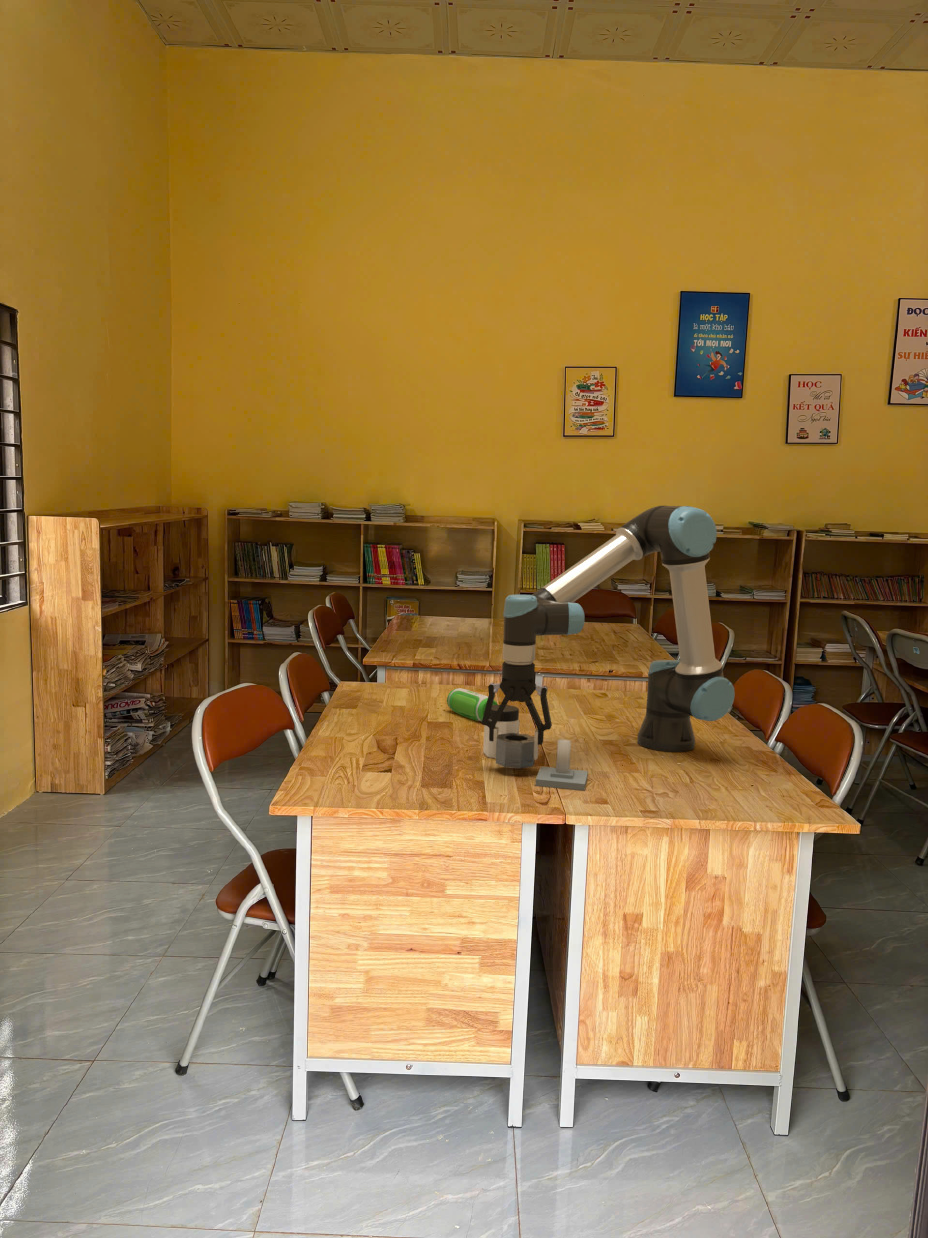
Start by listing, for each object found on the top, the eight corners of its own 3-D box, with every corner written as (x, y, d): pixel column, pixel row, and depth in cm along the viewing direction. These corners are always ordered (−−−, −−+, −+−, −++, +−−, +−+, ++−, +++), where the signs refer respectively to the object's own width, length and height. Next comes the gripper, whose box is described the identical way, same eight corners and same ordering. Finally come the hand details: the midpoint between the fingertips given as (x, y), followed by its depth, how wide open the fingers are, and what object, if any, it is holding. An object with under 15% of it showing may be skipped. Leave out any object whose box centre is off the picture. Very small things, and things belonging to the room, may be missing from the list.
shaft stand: (587, 777, 229) (590, 737, 228) (584, 790, 218) (587, 749, 217) (540, 772, 231) (542, 733, 230) (535, 785, 220) (537, 744, 219)
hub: (536, 759, 234) (537, 735, 233) (531, 769, 226) (532, 744, 225) (499, 756, 236) (500, 732, 235) (493, 766, 227) (494, 741, 227)
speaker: (500, 723, 281) (501, 697, 280) (479, 725, 277) (480, 699, 276) (464, 710, 295) (466, 685, 294) (444, 712, 291) (445, 687, 290)
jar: (478, 756, 243) (480, 709, 241) (487, 749, 250) (489, 703, 249) (513, 761, 240) (516, 713, 239) (521, 753, 248) (524, 706, 246)
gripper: (566, 661, 229) (563, 755, 232) (475, 656, 233) (473, 748, 236) (564, 667, 222) (560, 764, 225) (469, 661, 226) (467, 757, 229)
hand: (515, 756), depth 230 cm, fingers closed on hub, 9 cm apart
